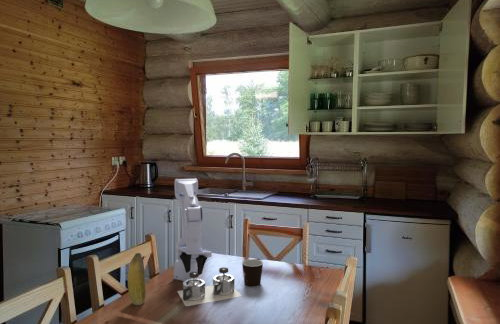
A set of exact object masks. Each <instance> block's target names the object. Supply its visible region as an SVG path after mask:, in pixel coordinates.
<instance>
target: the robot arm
mask: <svg viewBox="0 0 500 324" xmlns="http://www.w3.org/2000/svg"><path fill="white" fill-rule="evenodd" d="M198 192H199V180H198V179H197V178H196V177H195V178H175V179H174V196H175V200H176V199H177V200H178V201H179V202H180V209H181V211H180V212H181V230H182V231H181V232H182V233H181V234H182V237H181V238H180V239H179V240H178V241H177V242H176V245H175V246H176V249H175V255H176V260H175V261H174V264H173V279H174V280H178V281H181V282H184V281H186V280H188V279H193V278H191V277H189V273H191V272H198V275H199V276H200V275H203V271H204V268H205V264H206V262H207V260H208V259H209V258H212V251H211V250H208V249H205V248H202V222H203V219H204V211H203V206H202V205H200V202H199V199H198V197H197V195H198ZM196 278H197V279H198V277H196Z"/></svg>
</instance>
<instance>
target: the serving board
mask: <svg viewBox="0 0 500 324" xmlns="http://www.w3.org/2000/svg"><path fill="white" fill-rule="evenodd" d="M176 292H177V293H178V295H179V297H180V299H181V301H182V302H183V304H184V306H185V307H190V306H197V305H202V304H206V303H211V302H212V303H213V302H218V301H223V300H228V299H229V300H230V299H234V298H235V299H236V298H240V297H242V295H241V293H240V292H239V291H238V290H237V289H236V288H235V287H234V293H232V294H230V295H226V296H220V295H214V293H213V284H212V285H207V286H206V285H205V297H204V298H203V299H201V300H198V301H187V300H186V301H184V300H183V289H181V290H177V291H176Z"/></svg>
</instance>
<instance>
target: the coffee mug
mask: <svg viewBox="0 0 500 324" xmlns="http://www.w3.org/2000/svg"><path fill="white" fill-rule="evenodd" d="M241 264H242V271H243V272H242V273H243V282H244V285H245V286H246V287H249V288H257V287H259V286H261V282H262V275H263V274H262V273H263V266H264V262H263V261H262V260H259V259H253V258H250V259H244V260H243V261H242V262H241Z"/></svg>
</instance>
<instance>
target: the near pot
mask: <svg viewBox="0 0 500 324" xmlns="http://www.w3.org/2000/svg"><path fill="white" fill-rule="evenodd" d="M191 281H193V279H188V280H186V281H182V290H183V300H184V301H186V300H187V301H198V300H201V299H203V298H204V297H205V287H206V282H205V281H204V279H201V278H198V277H197V278H195V281H199V282H200V285H197V286H190V285H188V283H189V282H191Z"/></svg>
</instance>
